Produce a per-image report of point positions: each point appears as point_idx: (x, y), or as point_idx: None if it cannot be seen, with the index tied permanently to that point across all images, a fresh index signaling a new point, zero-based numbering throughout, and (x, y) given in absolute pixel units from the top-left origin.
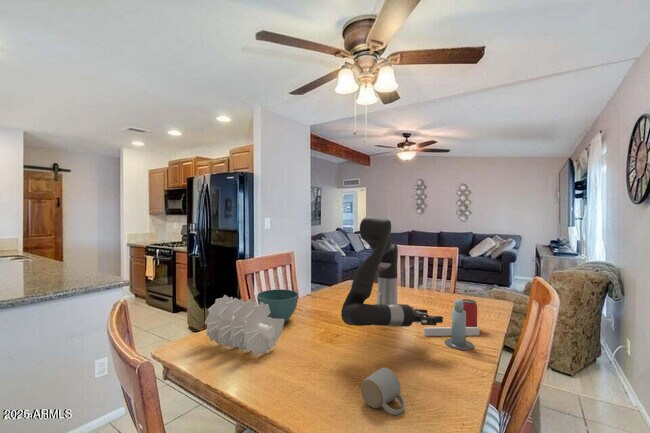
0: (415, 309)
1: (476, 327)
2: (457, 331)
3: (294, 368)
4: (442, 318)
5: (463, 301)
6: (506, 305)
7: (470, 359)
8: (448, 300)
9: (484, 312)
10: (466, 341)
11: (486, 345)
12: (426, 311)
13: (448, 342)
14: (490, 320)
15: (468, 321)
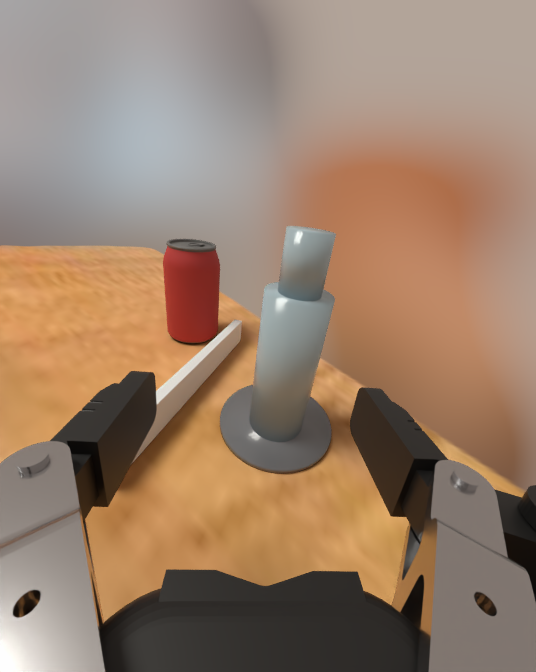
0: (99, 630)
1: (235, 323)
2: (306, 390)
3: None
4: (395, 405)
5: (185, 247)
6: (158, 252)
7: None
8: (30, 262)
9: (149, 273)
10: None
11: None
12: (150, 386)
13: (252, 446)
14: None
15: (207, 312)
